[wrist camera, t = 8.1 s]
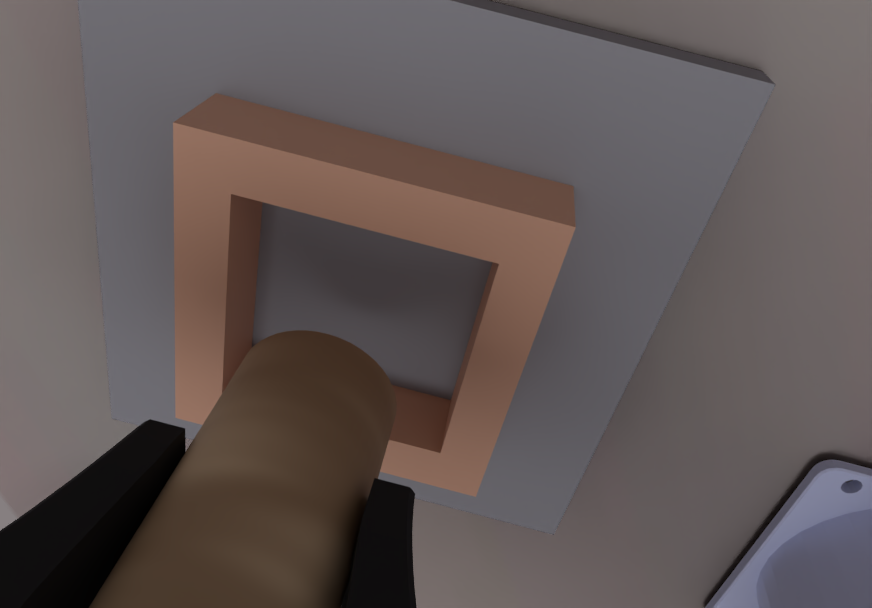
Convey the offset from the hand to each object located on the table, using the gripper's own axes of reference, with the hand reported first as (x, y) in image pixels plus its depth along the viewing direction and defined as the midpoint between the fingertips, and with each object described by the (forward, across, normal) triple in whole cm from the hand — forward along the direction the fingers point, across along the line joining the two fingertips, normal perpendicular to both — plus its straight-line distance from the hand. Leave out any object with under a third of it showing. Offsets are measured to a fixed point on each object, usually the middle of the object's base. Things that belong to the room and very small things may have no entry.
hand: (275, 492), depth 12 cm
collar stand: (+8, 0, 0) cm, 8 cm away
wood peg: (+2, 0, 0) cm, 2 cm away
